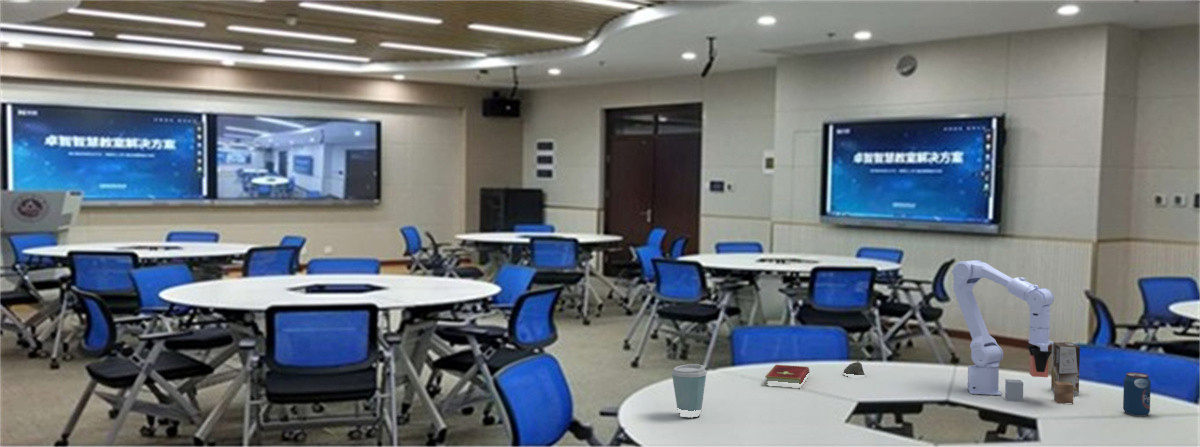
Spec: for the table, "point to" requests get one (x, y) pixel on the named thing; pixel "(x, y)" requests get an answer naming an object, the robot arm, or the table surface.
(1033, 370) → the red block
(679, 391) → the disposable coffee cup
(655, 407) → the table surface
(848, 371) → the sword in stone
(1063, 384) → the walnut block
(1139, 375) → the soda can
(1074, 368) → the coffee box
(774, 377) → the hardcover book
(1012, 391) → the grey block
